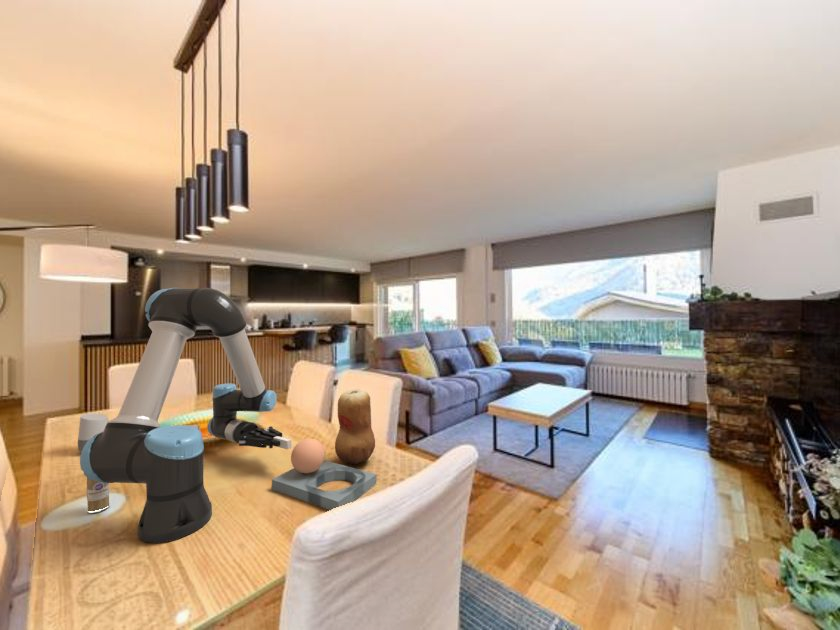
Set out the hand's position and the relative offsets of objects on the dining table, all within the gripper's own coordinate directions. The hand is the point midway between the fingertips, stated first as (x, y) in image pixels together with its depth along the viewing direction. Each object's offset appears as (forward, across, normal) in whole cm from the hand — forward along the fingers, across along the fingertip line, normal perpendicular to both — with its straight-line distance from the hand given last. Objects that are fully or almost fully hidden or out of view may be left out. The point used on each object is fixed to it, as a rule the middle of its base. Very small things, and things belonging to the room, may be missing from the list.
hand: (289, 444), depth 112 cm
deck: (+15, 0, -10) cm, 18 cm away
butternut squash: (+13, -17, -10) cm, 24 cm away
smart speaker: (-81, +21, -10) cm, 84 cm away
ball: (+9, 0, -2) cm, 9 cm away
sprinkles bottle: (-30, +38, -10) cm, 49 cm away
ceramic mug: (-57, 0, -10) cm, 58 cm away
